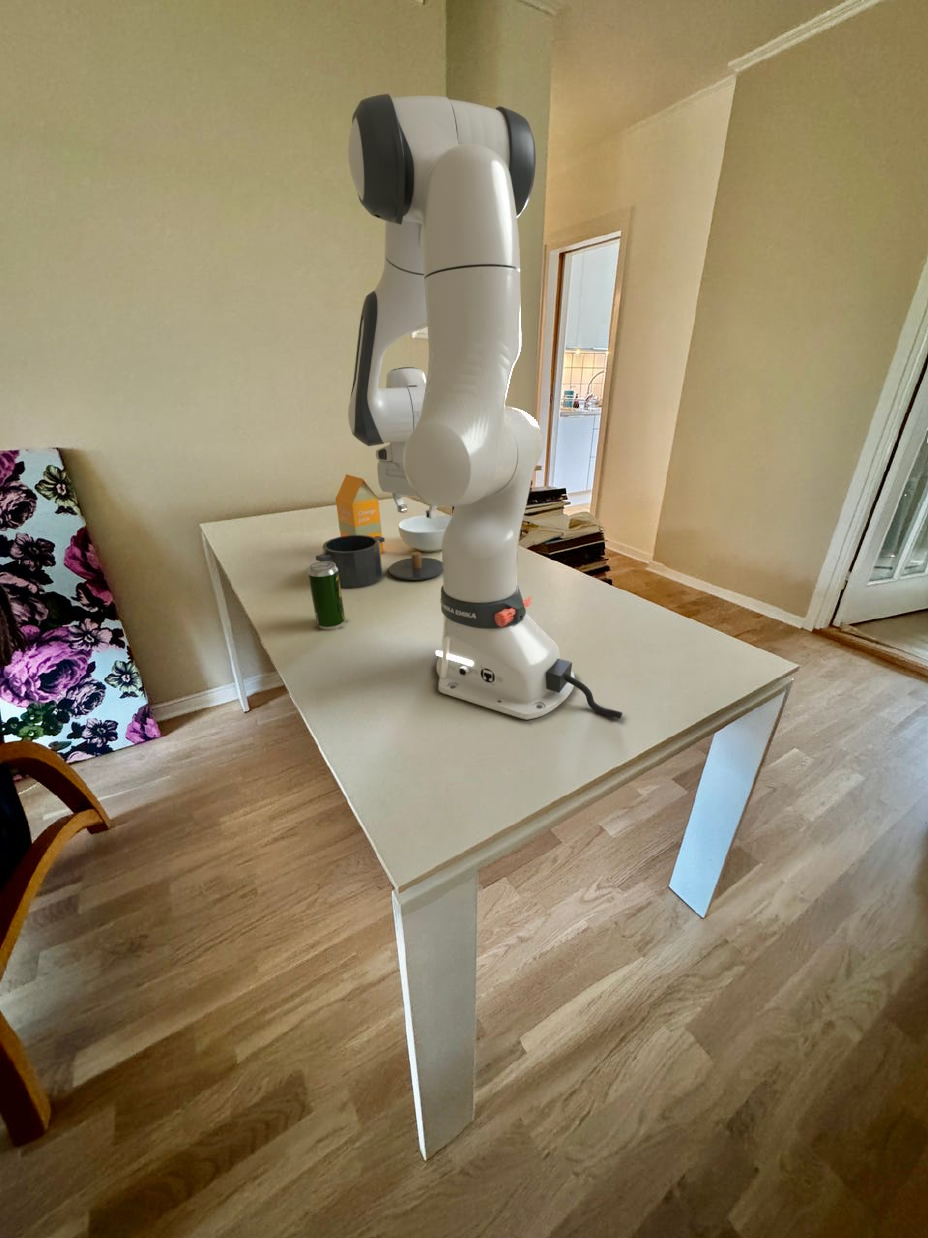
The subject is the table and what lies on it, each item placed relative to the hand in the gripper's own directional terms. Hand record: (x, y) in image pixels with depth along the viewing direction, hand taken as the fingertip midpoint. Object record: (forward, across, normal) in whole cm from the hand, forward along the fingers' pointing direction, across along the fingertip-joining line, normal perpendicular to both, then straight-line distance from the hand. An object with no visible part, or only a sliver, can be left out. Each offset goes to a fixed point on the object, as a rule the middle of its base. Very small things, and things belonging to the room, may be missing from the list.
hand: (416, 515), depth 110 cm
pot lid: (+13, +1, 0) cm, 13 cm away
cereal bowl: (+14, +11, -15) cm, 23 cm away
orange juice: (+14, +23, -1) cm, 27 cm away
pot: (+14, +10, +12) cm, 21 cm away
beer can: (+14, -5, +30) cm, 34 cm away
